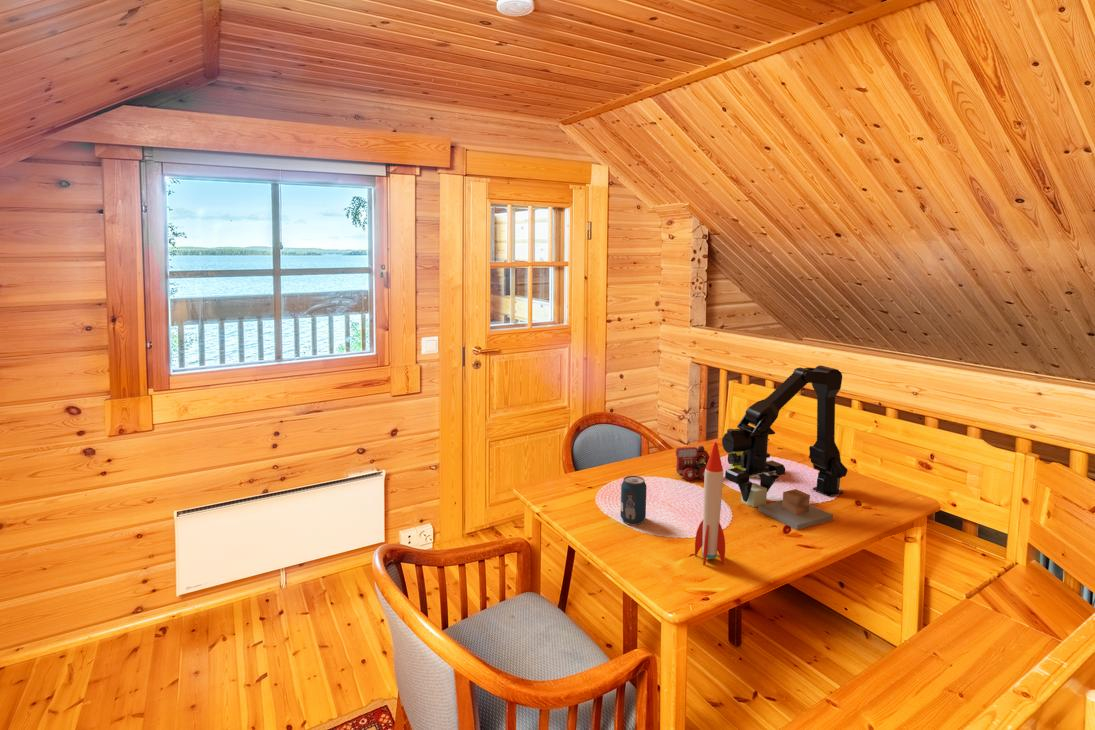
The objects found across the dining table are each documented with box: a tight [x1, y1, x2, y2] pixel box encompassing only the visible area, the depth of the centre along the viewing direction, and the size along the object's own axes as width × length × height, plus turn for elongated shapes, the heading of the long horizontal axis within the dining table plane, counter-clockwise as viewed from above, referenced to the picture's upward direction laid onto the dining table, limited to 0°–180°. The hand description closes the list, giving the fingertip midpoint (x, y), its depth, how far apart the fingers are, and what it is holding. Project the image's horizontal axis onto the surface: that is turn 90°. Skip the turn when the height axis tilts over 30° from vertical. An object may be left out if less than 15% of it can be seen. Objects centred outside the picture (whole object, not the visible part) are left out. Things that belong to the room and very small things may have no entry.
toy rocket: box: [694, 441, 726, 566], centre depth 153 cm, size 6×6×30 cm
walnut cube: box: [782, 488, 811, 515], centre depth 180 cm, size 5×5×5 cm
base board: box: [758, 499, 834, 531], centre depth 181 cm, size 14×14×2 cm
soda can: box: [620, 475, 647, 525], centre depth 176 cm, size 7×7×12 cm
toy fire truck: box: [675, 445, 710, 482], centre depth 210 cm, size 7×12×10 cm, turn 100°
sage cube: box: [740, 482, 768, 508], centre depth 189 cm, size 5×5×5 cm
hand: (753, 499), depth 189 cm, fingers open, 6 cm apart
